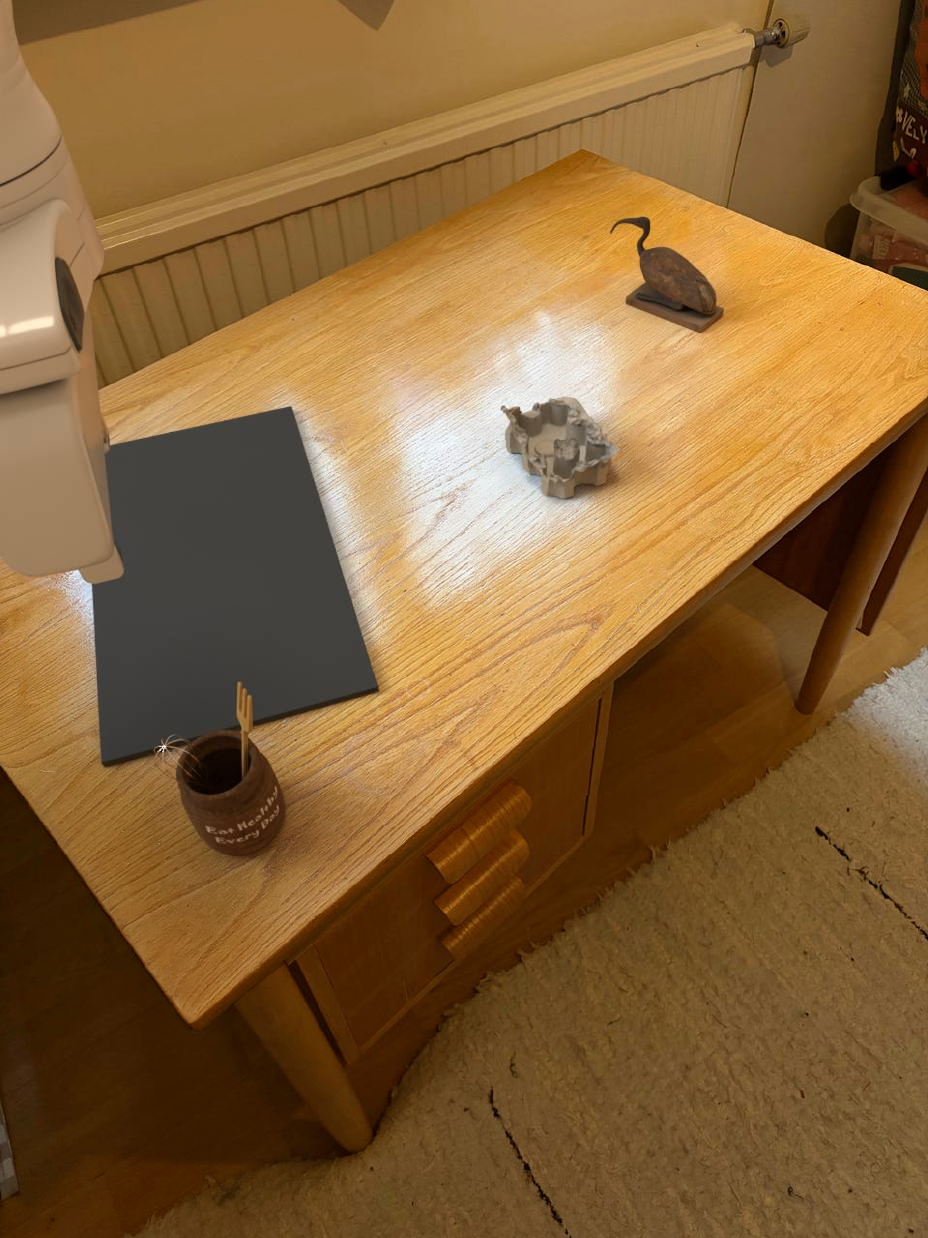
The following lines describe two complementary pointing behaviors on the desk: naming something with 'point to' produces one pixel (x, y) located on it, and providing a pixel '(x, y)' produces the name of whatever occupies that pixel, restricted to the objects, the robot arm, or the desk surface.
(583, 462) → the egg carton
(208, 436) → the desk mat
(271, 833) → the utensil holder
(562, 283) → the desk surface
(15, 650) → the desk surface
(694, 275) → the figurine
